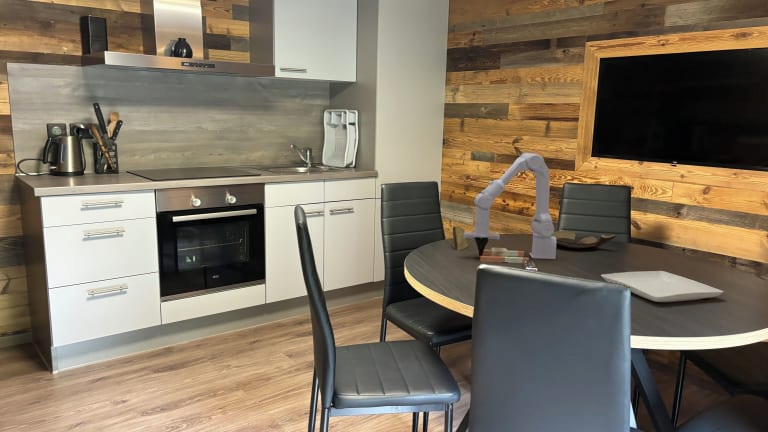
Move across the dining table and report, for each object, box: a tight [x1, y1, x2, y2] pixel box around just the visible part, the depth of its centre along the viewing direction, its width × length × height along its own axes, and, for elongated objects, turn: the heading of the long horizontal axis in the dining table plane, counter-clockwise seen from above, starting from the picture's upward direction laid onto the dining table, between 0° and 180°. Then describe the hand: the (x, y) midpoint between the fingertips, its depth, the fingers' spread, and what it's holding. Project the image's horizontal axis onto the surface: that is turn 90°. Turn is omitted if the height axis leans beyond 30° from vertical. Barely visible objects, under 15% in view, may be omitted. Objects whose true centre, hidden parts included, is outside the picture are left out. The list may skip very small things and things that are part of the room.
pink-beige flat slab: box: [477, 249, 530, 264], centre depth 231 cm, size 19×13×2 cm
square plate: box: [600, 270, 725, 303], centre depth 190 cm, size 27×27×4 cm
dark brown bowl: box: [551, 230, 617, 249], centre depth 254 cm, size 22×30×8 cm
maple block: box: [490, 247, 508, 257], centre depth 231 cm, size 6×6×4 cm
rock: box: [452, 225, 470, 251], centre depth 249 cm, size 11×9×10 cm
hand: (480, 255), depth 232 cm, fingers closed
